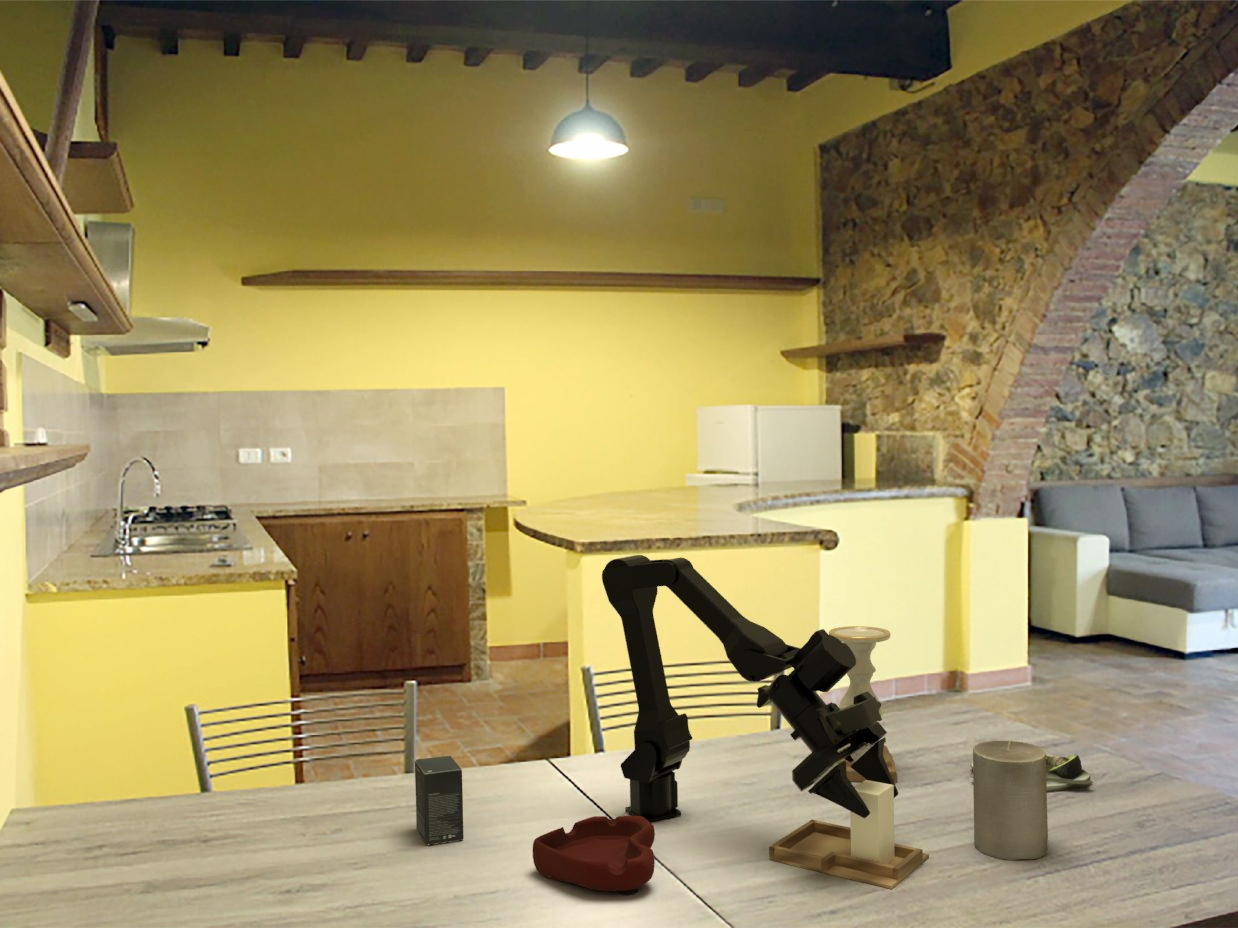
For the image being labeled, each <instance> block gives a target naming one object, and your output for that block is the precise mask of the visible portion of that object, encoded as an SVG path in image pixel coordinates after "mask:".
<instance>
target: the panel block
mask: <svg viewBox="0 0 1238 928" xmlns="http://www.w3.org/2000/svg"><path fill="white" fill-rule="evenodd" d="M854 788H855V789H856V791H857V792H858V794H859V795H860V797H861V798H862V800H863V801H864V803H865V804H866V806H867V808H868V810H869V811H870V815H868V816H867V817H866V818H863V817H861V816H859V815H857V814H855V813H853V812H851V811H849V812H850V814H849V815H850V816H849V817H850V821H849V822H850V828H851V856H853V857H858V858H862V859H867V860H871V861H875V862H880V863H884V864H888V863H889V862H890V861H892V860H893V859H894V858H895V856H894V843H895V801H894V799H895V798H894V785H891V784H886V783H880V782H875V781H869V780H865V781H863V782H859V784H857V785H856V786H854Z"/></svg>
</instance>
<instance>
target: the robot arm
mask: <svg viewBox="0 0 1238 928" xmlns="http://www.w3.org/2000/svg"><path fill="white" fill-rule="evenodd" d="M601 581H602V585H603V588H604V591H605V594H606V597H607V600H608V602H609V603H610V605H611V606H612V608H613V609H614V610H615V611H616V613H617V614H618V615H619V616H620V620H621V624H622V627H623V628H622V629H623V633H624V634H623V635H624V638H625V645H626V649H627V654H628V659H629V666H630V670H631V675H632V681H633V686H634V692H635V697H636V701H637V707H638V712H637V713H638V714H637V717H636V721H635V725H634V729H633V741H634V742H633V743H634V749H633V751H632V752H631V753H630V754H629V755H628V756H627V757H626V758H625V759H624V760H623V761H622V762H621V763H620V768H621V772H622V775H623V778H624V779H627V780H629V796H630V797H629V800H630V802H629V806H626V807H625V812H626V813H628V814H630V815H631V816H642V817H644V818H645V819H647V820H648V821H649V822H650V823H651V822H655V821H659V820H660V821H661V820H665V819H668V818H673V817H678V816H681V815H682V811H681V810H679V809H677V808H678V807H679V796H678V792H679V791H678V781H677V780H676V773H675V772H674V771H675V770H679V769H680V768H681V766H682V762H683V760H684V758H686V757H687V755H688V753H689V752H690V750H691V749H690V748H691V742H690V741H692V740H693V736H692V734H691V731H690V729H689V717H688V716H687V713H685V712H684V713H681V714H679V713H678V711H676V709H675V708H674V707H673V705H672V704H671V703H672V702H671V700H670V693H669V689H668V685H667V680H666V674H665V669H664V663H663V658H662V654H661V649H660V648H661V647H660V643H659V638H658V634H657V633H658V632H657V627H656V621H655V617H654V609H655V608H654V607H655V604H656V601H657V599H656V598H657V596H658V591H659V590H658V587H666V588H668V589H669V590H670V591H671V592H672V593H673V594H674V595H675V596H676V597H677V598H678V600H679V601H681V602H682V604H684V605H685V606H686V607H687V608H688V610H690V611H691V612H692V613H693V615H695V617H696V618H698V619H699V620H700V622H702V623H703V624H704V626H705V627H707V628H708V629H709V630H710V631H711V632H712V633H713V634H714V635H715V637H717V639H718V640H719V642H721V644H722V645H723V648H724V651H725V655H726V657H727V659H728V660H729V662H730V663H731V665H732V666H733V667H734V668H735V670H736V672H737V673H738V674H739V675H740V676H741V678H743V679H744V680H746V681H748V682H750V683H752V682H760V681H761V682H762V681H763V680H766V679H769V678H771V677H774V676H777V675H778V674H780V675H778V676H777V677H776V678H775V679H774V680H773V681H772V682H771V683H770V684H769V685H767V684H765V685H762V686H759V687H758V688H757V699H756V707H757V708H758V709H760V708H762V707H765V706H767V705H770V704H772V705H773V706H774V707H775V709H777V710H778V713H780V715H782V717H783V718H784V720H786V722H787V723H788V724H789V726H790V727H791V728H792V729H793V731H792V732H791V733H790V734H789V735H790V737H791V738H792V739H793V740H794V741H797V740H798V739H801V741H802V743H804V744H805V746H806V747H807V748H808V750H809V751H810V752H811V753H809V754H808V755H807V756H806V757H805V758H804V759H803V760H802V761H801V762H800V763H798V765H796V767H795V768H793V769H792V770H791V772H792V773H791V777H792V778H791V779H792V782H793V783H794V784H795V786H796V787H797V788H798V790H799V791H800V792H804V791H805V790H807V789H808V788H810V789H808V791H807V792H808V793H809V794H811V795H812V794H814V795H816V796H818V797H819V796H820V797H821V798H823V799H826V800H828V801H830V802H832V803H834V804H836V805H838V806H840V807H842V808H845V809H846V810H847V811H849V812H850V811H851V812H853V813H855V814H857V815H859V816H861V817H863V818H866V817H867V816H868V815H870V811H869V810H868V808H867V806H866V804H865V803H864V801H863V800H862V798H861V797H860V795H859V794H858V792H857V791H856V789H855V788H854V787H855V786H854V785H853V782H850V781H849V779H848V777H847V772H846V761H843V762H841V763H839V764H838V762H839V761H841V760H843V759H845V760H847V761H849V762H853V761H855V762H854V763H853V764H852V765H851V766H850V767H851V768H852V769H854V770H855V771H856V772H857V773H859V774H860V775H861V776H863V777H864V778H865V779H867V780H869V781H875V782H880V783H886V784H891V785H894V799H895V798H896V797H897V796H899V791H898V789H897V786H896V784H895V783H894V781H893V779H892V777H891V774H890V772H889V770H888V767H887V765H886V762H885V759H884V757H883V749H884V745H885V743H886V741H887V738H886V737H884V736H886V734H887V733H888V731H886V730H885V728H884V727H883V726H882V724H880V722H881V721H883V718H882V716H880V713H879V710H880V707H881V705H882V703H881V701H880V700H879V701H880V702H879V701H877V700H876V698H875V697H873V696H872V695H871V694H870V693H869V692H868V691H867V692H864V693H861V694H859V695H857V696H855V697H854V704H853V705H850V706H848V707H846V708H843V709H840V708H839V705H838V704H836V703H834V702H833V701H831V702H830V703H829V702H828V703H826V702H825V701H824V700H823V698H822V697H821V696H820V695H819V694H818V693H817V692H818V691H819V692H821V693H828V692H829V691H830V690H831V689H832V688H834V686H835V685H837V683H839V681H841V680H842V679H843V678H844V677H845V676H847V673H848V672H849V671H850V670H851V669H852V668H853V667H854V666H855V665H856V658H855V656H854V654H853V652H852V650H851V649H850V648H849V647H848V645H847V644H845V643H843V642H841V641H840V640H839V639H837V638H836V637H834V636H831V635H829V633H828V632H827V631H826V630H825V629H824V628H822V629H818V630H816V631H815V632H814V633H813V634H811V635H810V638H808V641H807V642H806V643H805V644H804V645H803V646H802V647H798V646H797V647H796V646H794V645H789V644H786V642H785V641H784V640H783V639H782V638H781V637H779V636H778V635H776V634H775V633H774V632H772V631H771V630H769V629H768V628H767V627H765V626H763V625H760V624H758V623H755V622H753V621H751V620H749V619H748V618H746V617H745V616H743V614H742V613H741V612H739V611H738V610H737V608H735V607H734V606H733V605H732V604H731V603H730V602H729V601H728V600H727V599H726V598H725V597H724V596H723V595H722V594H721V593H720V592H719V591H718V590H717V589H716V588H714V586H713V585H712V584H711V583H710V582H709V581H708V580H707V579H705V577H703V575H701V574H700V573H699V572H698V571H697V570H696V569H695V568H694V566H693V564H692V562H691V561H690V560H689V559H687V558H685V557H682V556H680V557H676V558H671V559H669V558H667V559H666V558H665V559H663V558H661V559H653V560H650V559H649V558H648V557H647V556H646V555H643V554H635V555H630V556H625V557H619V558H614V559H612V560H610V561H609V562H607V563H606V564H605V566H604V569H602V571H601ZM791 668H793V669H792V670H791V671H790V673H788V675H787V674H781V673H783V672H784V671H786V670H789V669H791ZM811 786H812V787H811Z"/></svg>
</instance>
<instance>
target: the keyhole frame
mask: <svg viewBox="0 0 1238 928" xmlns="http://www.w3.org/2000/svg"><path fill="white" fill-rule="evenodd" d="M768 853H769V858H768V859H769V860H770V861H773V862H777V863H781V864H787V865H789V866H794V867H799V868H803V869H806V870H809V871H815V872H819V873H823V874H828V875H832V876H836V877H839V878H840V877H841V878H844V879H848V880H851V881H857V882H860V883H864V884H869V885H873V886H876V887H881V888H885V889H889V890H892V889H893V888H895V887H896V886H897V885H898V884H899V883H901V882H902V881H903V880H904V879H905V878H906V877H909V875H910V874H911V873H912V872H914V871H915V870H916V869H917V868H918V867H920V866H921V865H922V864H923V863H924V862H926V861H927V860H928V859H929V858H930V854H928V853H924V851H923V849H922V848H919V847H918V848H917V847H913V846H908V845H903V844H899V843H895V842H894V856H895V858H894V859H893V860H892V861H890V862H889V863H888V864H884V863H880V862H875V861H871V860H867V859H862V858H858V857H853V856H851V826H850V827H849V826H846V825H845V826H844V825H839V824H835V823H830V822H827V821H826V822H825V821H821V820H815V819H810V820H809V821H807V822H806V823H804V824H802V825H801V826H799V827H798V828H796V829H795V830H793V831H792V832H790V833H789V834H787V835H785V836H784V837H782V838H781V839H779V840H777V841H776V842H774V843H772V844H771V845H770V846H768Z"/></svg>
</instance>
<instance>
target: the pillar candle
mask: <svg viewBox="0 0 1238 928" xmlns="http://www.w3.org/2000/svg"><path fill="white" fill-rule="evenodd" d="M1046 754H1047V753H1046V751H1045V749H1043V748H1042V747H1040V746H1038V745H1035V744H1031V743H1028V742H1023V741H1016V740H989V741H983V742H979V743H978V744H975V745H974V746H973V748H972V762H973V769H972V771H973V772H972V773H973V778H972V781H973V783H972V784H973V835H974V836H973V839H974V840H973V842H974V843H973V844H974V847H975V848H976V849H977V851H979V852H980V853H982V854H984V855H987V856H990V857H993V858H995V859H996V858H997V859H1000V860H1005V859H1007V860H1006V861H1013V860H1014V861H1017V860H1036V859H1040V858H1042V857H1043V856H1045V855H1047V852H1048V846H1049V845H1048V842H1049V839H1048V838H1049V836H1048V835H1049V833H1048V832H1049V830H1048V795H1047V794H1048V793H1047V792H1048V791H1047V782H1046Z"/></svg>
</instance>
